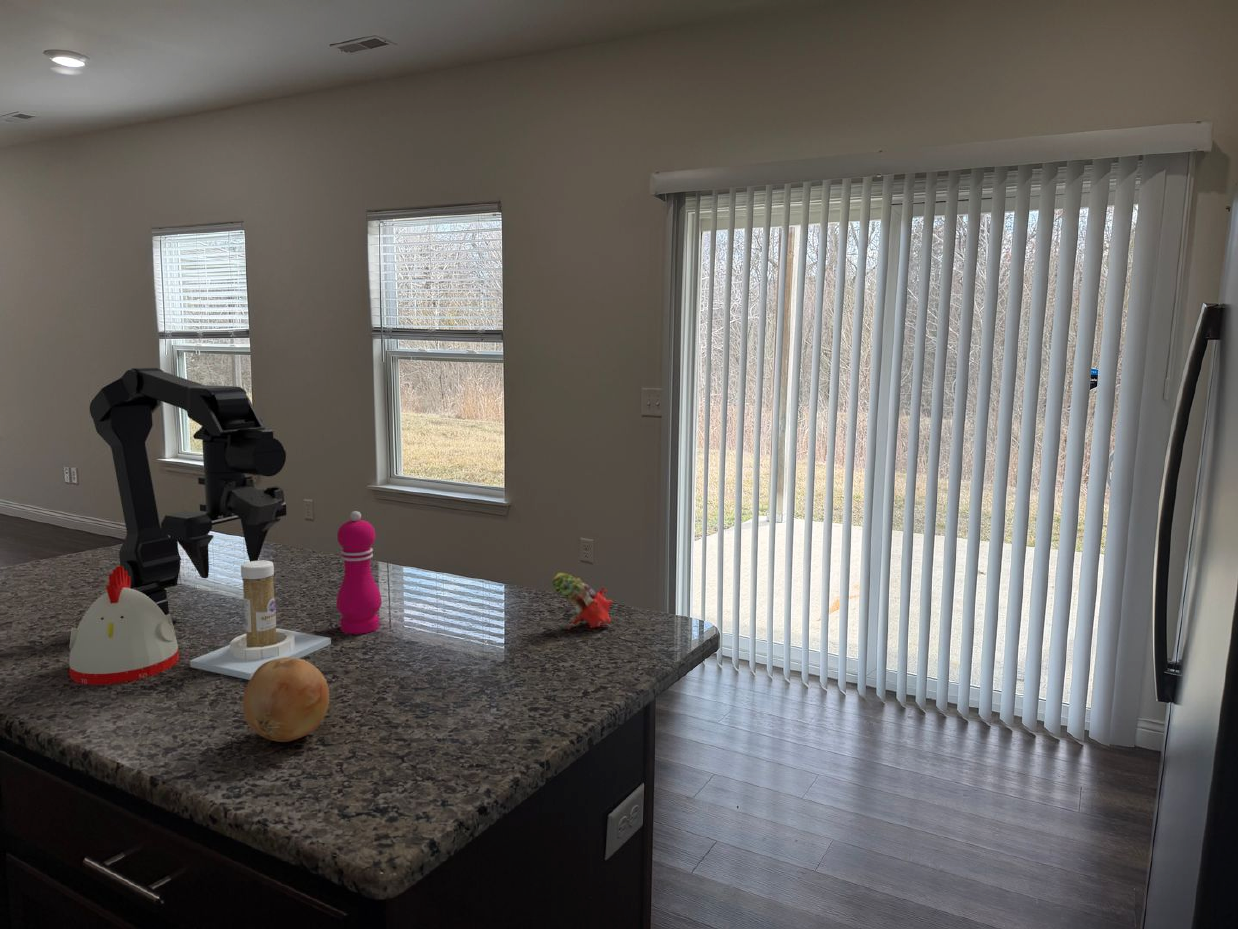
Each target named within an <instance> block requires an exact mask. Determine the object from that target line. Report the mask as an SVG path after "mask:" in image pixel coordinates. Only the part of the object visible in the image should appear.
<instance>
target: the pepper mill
mask: <svg viewBox="0 0 1238 929" xmlns="http://www.w3.org/2000/svg"><path fill="white" fill-rule="evenodd" d="M361 518H362V514H361V512H360V511H357V510H353V511H352V512H351V513H350V514H349V519H350V520H348V521H346V522H344V523H342V524H341V525H340V526H339V528H338V531H337V534H336V535H337V537H336V538H337V543H338V545H339V546H340V547H341V548H342V550H340V552H341V560H343V561H344V562H343V563H344V573H343V574H344V576H343V580H342V582H341V585H340V588H339V590H338V592H337V597H336V609H337V611H338V613H340V615H341V616H342V617H341V618H340V620H339V622H340V624H339V626H340V630H341V632H343V633H344V634H349V635H358V634H359V635H360V634H362V635H363V634H368V633H370V632H371V633H372V632H374V631H376V630H377V629H379V627H380V616H379V615H378V614H377V612H379V610H380V609H381V607H382V604H383V603H382V595H381V591H380V589H379V587H378V585H377V582H376V580H375V579H374V577H373V572H372V567H371V560H372V558H373V556H374V554H373V551H374V548H372V547H371V546H372V545H373V544H374V543H375V540H376V532H375V531H376V530H375V528H374V527H373V525H372V523H370V522H368V521H366V520H362V519H361Z"/></svg>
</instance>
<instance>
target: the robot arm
mask: <svg viewBox="0 0 1238 929" xmlns="http://www.w3.org/2000/svg"><path fill="white" fill-rule="evenodd" d="M161 402H162V403H166V404H168V405H170V406H173V407H176V408H178V409H182V410H184V412H186V414H187V417H188V418H189V419H190V420H192V421H193V422H195V424H198V425H199V426H201V427H200V428H199V429H198V430H197V431H195V432H194V434H193V439H194V440H199V441H200V440H201V445H202V461H203V462H202V464H203V476H200V477H197V480H198V482H197V484H198V485H204V493H205V494H204V496H205V497H204V499H205V500H204V501H205V502H204V503H200V504H199V511H200V512H193V511H187V510H186V511H185V510H184V511H181V512H175V513H171V514H165V515H164V516H163V518H162V520H161V521H160V517H159V510H158V505H157V499H156V494H155V489H154V483H153V477H152V471H151V469H150V468H151V466H150V461H149V457H148V456H149V455H148V451H147V450H148V449H147V445H146V442H147V440H148V438H149V436H150V433H151V430H152V429H153V426H154V421H153V419H154V418H153V413H155V411H156V410H157V409H158V408H159V407H160V406H161V404H162V403H161ZM89 414H90V416H91V418H92V421H93V424H94V427H95V430H96V433H97V434H98V435H99V436H100V437H101V438H102V440H104V442H106V444H107V445H109V447H110V450H111V455H112V459H113V465H114V466H113V467H114V471H115V475H116V482H117V486H118V492H119V496H120V497H119V498H120V503H121V508H122V513H123V520H124V523H125V524H124V525H125V529H126V530H125V531H126V536H125V538H124V541H123V542H122V544H121V547H120V549H119V553H118V555H119V566H123V568H124V571H127V576H130V588H131V589H134V590H137V591H139V592H141V593H143V594H145V595H146V596H148V597H149V598H150V599H151V600H153V601H154V602H155V603H156V604H157V606H158V607H159V608H160V609H161V610H162V611H163V613H164V614H165V615H168V614H170V606H169V605H170V604H169V599H168V591H167V589H168V588H172V587H173V588H174V587H177V586H178V582H179V575H180V570H181V562H182V557H181V556H180V555H181V554H180V551H179V546H180V547H181V548H182V549H183V551H184V552H185V554H186V555H187V556H188V558H189V560H190V561H191V563H192V565H193V566H194V568H195V569H196V571H197V573H198V574H199V576H200V577H201V579H208V578H209V570H210V558H209V544H210V542H211V541H212V540H213V538H214V535H213V534H209V533H210V532H211V531H212V529H213V526H215V525H219V524H224V523H227V522H231V521H237V520H240V523H241V528H242V532H243V537H244V538H243V540H244V541H245V542H244V543H245V549H246V554H247V556H248V560H249V562H251V561H259V558H260V555H261V551H262V549H263V546H264V543H265V539H266V537H267V535H268V532H269V530H270V529H271V528H272V527H273V526H275V524H276V523H279V522H280V521H281V519H282V518H281V517H284V516H287V504H286V502H285V494H284V489H283V488H282V487H280V486H279V485H273V486H269V487H267V488H266V489H264V488H260V489H257V488H256V487H255V485H254V484H255V483H254V479H253V476H261V477H268V478H269V477H273V476H276V475H278V474H279V473H280V472H281V471H282V470H283V468H284V467H285V463H286V458H287V452H286V450H285V447H284V446H283V444H282V442H280V440H278V439H277V438H275V437H274V431H273V429H269V428H268V429H267V428H266V427H265V425H264V423H263V422H262V421H263V420H262V418H261V417H260V415H259V414H258V413H257V410H256V408H255V406H254V405H253V403H252V400H251V399H250V397H249V396H248V395H247V391H246V390H245V389H244V388H243V387H240V386H237V385H236V386H234V385H210V384H209V385H205V384H202V383H200V382H199V383H198V382H195V381H193V380H190V379H187V378H184V377H181V376H178V375H175V374H171V373H169V372H166V371H165V370H163V369H161V368H158V367H133V368H130V369H127V370H126V371H125V372H124V374H123V375H122V376H121V377H119V378H118V379H115V380H114V381H112V382H110V383H109V384H107V385H105V386H104V387H102V388H101V389H100V390H99V391H98V392H97V394H96V395H95V396H94V398H93V399H92V400H91V401H90V403H89ZM251 475H253V476H251ZM202 512H205V513H202ZM178 544H179V546H178ZM171 619H172V623H173V625H174V624H176V623H178V619H177V618H172V617H171Z"/></svg>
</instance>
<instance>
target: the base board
mask: <svg viewBox="0 0 1238 929" xmlns="http://www.w3.org/2000/svg"><path fill="white" fill-rule="evenodd" d="M276 638H277V644H275V645H270V646H265V647H250V648H249V647H247V638H246V633H243V634H241V635H238V636H235V637H234V638H233V639H232V640H231V641H230V642H229V645H226V646H224V647H221V648H218V649H216V650H213V651H210V652H208V653H206V654H203V655H200V656H198V657H195V658H193V659H190V660H189V667H190V668H193V669H198V670H203V671H205V672H206V671H207V672H211V673H215V674H216V673H217V674H220V675H225V676H231V677H235V678H239V679H243V680H248V681H250V679H251V678H252V676H253V675H254V673H255V671H256V670H257V669H258V668H259V667H260V666H261V665H262V664H264V663H266V662H268V661H271V660H274V659H278V658H283V657H293V658H299V659H302V658H303V657H305V656H307V655H310V654H312V653H315V652H316V651H319V650H322V649H323V648H326V647H327V646H330V645H331V644H332V639H331V637H327V636H322V635H316V634H311V633H307V632H305V633H304V632H301V631H300V632H299V631H293V630H290V629H289V630H288V629H284V628H283V629H282V628H277V627H276Z"/></svg>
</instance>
